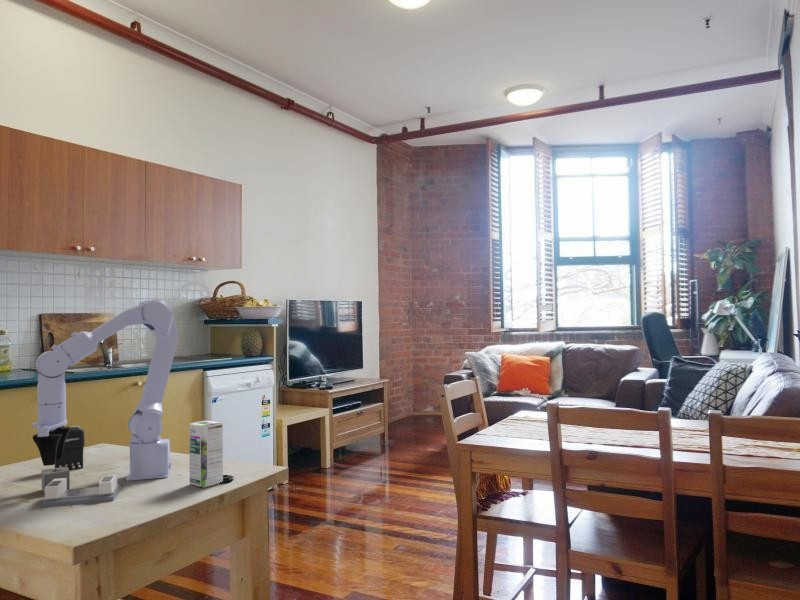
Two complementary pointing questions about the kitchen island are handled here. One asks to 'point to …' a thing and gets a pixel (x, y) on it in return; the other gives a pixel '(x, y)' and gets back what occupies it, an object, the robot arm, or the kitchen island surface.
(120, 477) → the kitchen island surface
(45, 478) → the dice cube
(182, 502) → the kitchen island surface
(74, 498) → the board
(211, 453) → the syrup box
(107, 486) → the mounted modules
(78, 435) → the battery charger
